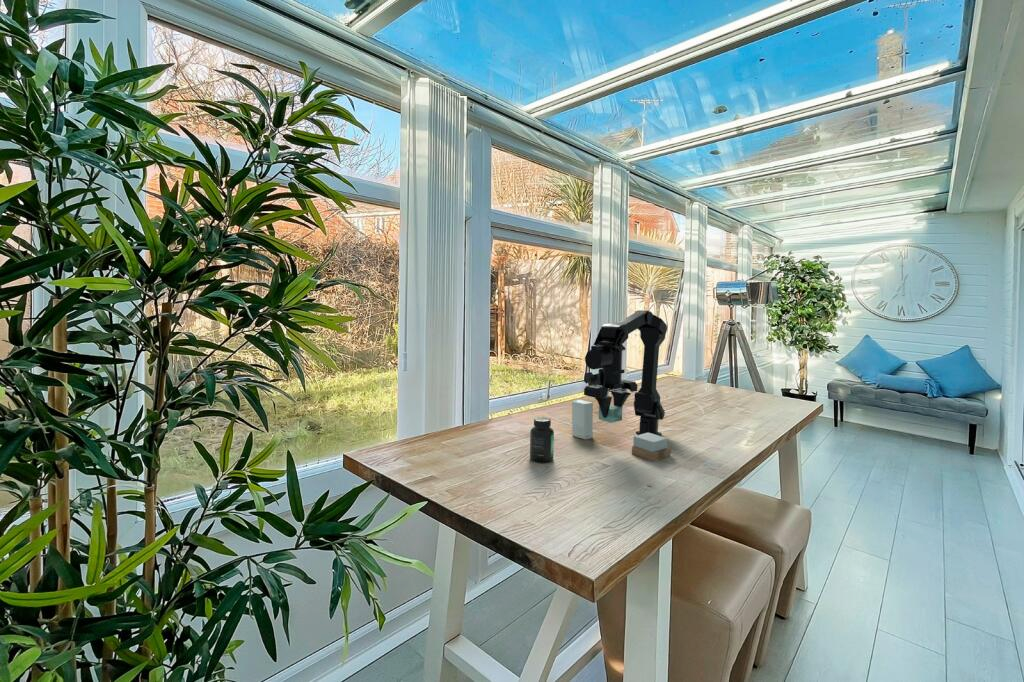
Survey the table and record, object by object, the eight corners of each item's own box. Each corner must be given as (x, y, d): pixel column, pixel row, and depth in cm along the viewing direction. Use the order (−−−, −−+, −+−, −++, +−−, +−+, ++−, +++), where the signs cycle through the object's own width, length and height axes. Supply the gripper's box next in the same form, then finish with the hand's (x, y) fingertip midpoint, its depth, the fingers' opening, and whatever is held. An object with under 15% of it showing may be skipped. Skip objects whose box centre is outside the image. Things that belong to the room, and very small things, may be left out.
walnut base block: (647, 450, 143) (647, 441, 143) (670, 457, 137) (670, 448, 137) (631, 455, 138) (632, 446, 138) (654, 463, 132) (655, 453, 132)
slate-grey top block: (647, 441, 142) (647, 432, 142) (667, 447, 137) (667, 438, 137) (633, 445, 138) (633, 436, 138) (652, 452, 133) (653, 442, 132)
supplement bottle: (558, 461, 131) (559, 420, 130) (538, 465, 128) (539, 423, 127) (544, 454, 137) (545, 414, 136) (525, 457, 134) (525, 417, 133)
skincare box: (593, 437, 154) (594, 402, 153) (584, 440, 151) (585, 404, 150) (579, 433, 159) (580, 399, 158) (570, 435, 156) (571, 400, 155)
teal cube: (609, 416, 144) (609, 404, 143) (622, 420, 140) (622, 407, 139) (598, 419, 141) (598, 406, 140) (611, 422, 137) (611, 409, 136)
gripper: (611, 360, 151) (609, 406, 152) (571, 365, 139) (570, 415, 141) (639, 364, 142) (637, 413, 144) (599, 370, 130) (597, 423, 132)
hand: (610, 416), depth 140 cm, fingers closed on teal cube, 5 cm apart
